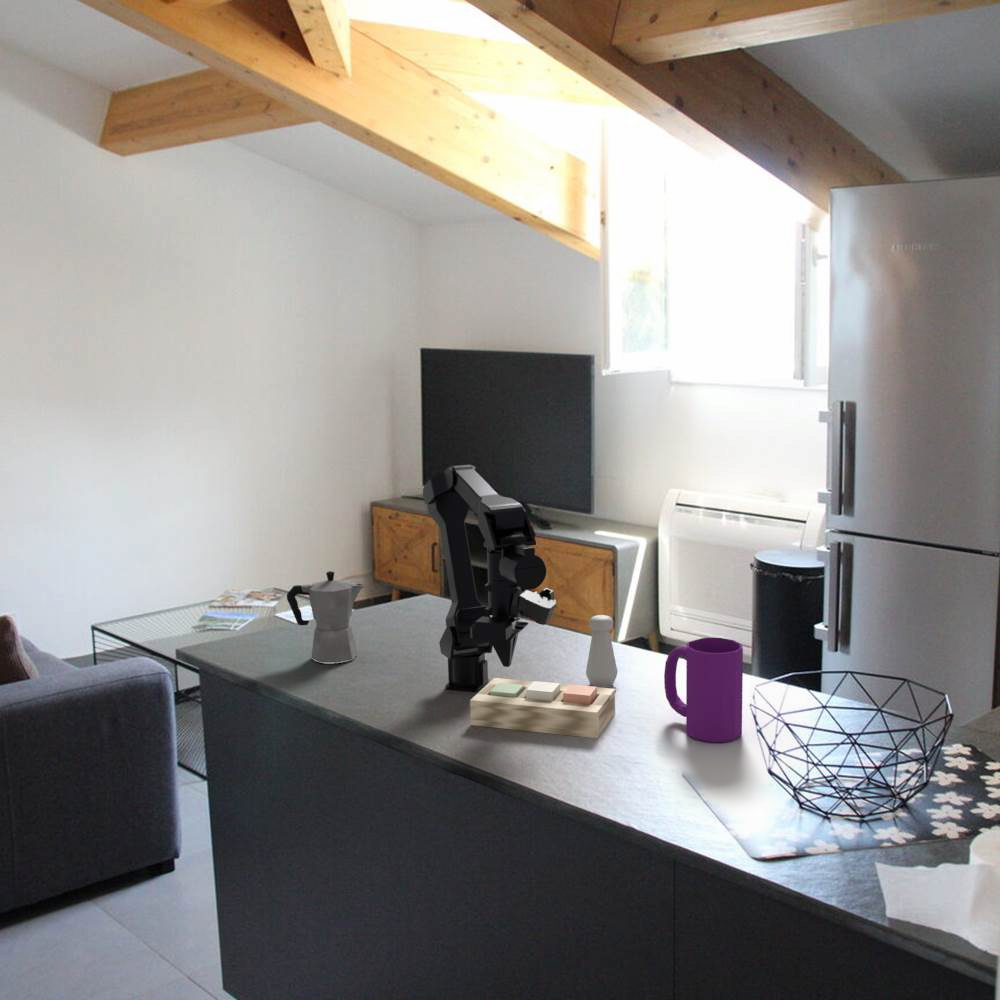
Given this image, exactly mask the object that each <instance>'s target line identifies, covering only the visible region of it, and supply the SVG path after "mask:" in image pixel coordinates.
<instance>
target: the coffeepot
mask: <svg viewBox="0 0 1000 1000" xmlns="http://www.w3.org/2000/svg"><path fill="white" fill-rule="evenodd" d="M325 574H326V577H327V580H322V581H318V582H314V583H312V584H302V585H299V584H297V585H293V586H292V587H291V588H290V589H289V591H288V592H287V594H286V600H287V602H288V604H289V607H290V609H291V611H292V613H293V615H294V616H293V617H294V618H295V621H296V623H297V625H298V626H308V624H309V622H310V621H309V620H305V619H303V618H302V612H301V611H302V610H301V609H300V608H299V604H298V600H297V598H296V597H297V596H298V595H302V596H308V598H309V603H310V607H311V612H312V617H313V619H314V620H315V628H314V631H313V632H314V633H313V640H312V650H311V656H310V657H311V658H313V659H315V660H317V661H319V662H341V661H345V660H346V661H347V660H351V659H353V658H354V657H355V656H356V655H357V656H358V651H357V646H356V642H355V638H354V634H353V628H352V626H351V625H350V624H351V623H350V618H351V617H353V616H352V615H353V606H354V603H355V601H356V599H357V598H358V595H359V593H360V592H361V591H362V589H364V588H365V586H364V584H362V583H358V582H350V581H347V580H340V579H334V578H335V571H330V570H329V571H326V573H325ZM357 656H356V657H357Z"/></svg>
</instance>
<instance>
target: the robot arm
mask: <svg viewBox="0 0 1000 1000" xmlns="http://www.w3.org/2000/svg"><path fill="white" fill-rule="evenodd" d="M422 498H423V501H424V504H426V507H427V512H428V514H429V516H430V518H431V519H432V521H434V522H435V523H436V525H437V526H438V527H439V532H440V538H441V544H442V550H443V556H444V563H445V568H446V576H447V581H448V587H449V594H450V601H451V604H450V607H449V610H448V612H447V615H446V617H445V626H446V627H445V629H444V631H443V633H442V636H441V638H440V640H439V642H438V643H439V648H440V654H441V655H443V656H445V657H446V658H447V671H448V672H447V673H448V675H447V677H448V683H446V684H445V685H444V688H445V689H449V690H458V691H470V692H479V691H480V690H482V689H483V688H484V687H485V686H486V685H487V684H488V683H489V682H490V681H489V680H490V679H489V669H488V668H489V667H488V660H487V659H486V654H492V652H493V649H494V651H495V653H496V655H497V657H498V658H499V660H500V662H501V665H502V666H503V667H505V668H509V667H510V666H512V662H513V657H514V654H515V649H516V645H517V640H518V636H519V634H520V633H522V631H523V630H524V629H525V628H526V627H527V626H528V625H529V622H527V621H521V618H520V616H523V617H525V618H527V619H530V620H532V621H534V622H535V623H536V624H538V625H541V626H542V625H543V626H544V625H546V624H547V623H548V622H549V621H551V620H552V617H553V614H554V612H555V611H554V610H555V609H556V608H557V607H558V606H557V600H556V599H555V594H554V589H550V588H548V587H545V588H543V590H541V591H540V592H539V593H538V591H534V592H533V591H531V590H534V589H536V588H538V587H540V586H541V585H542V584H543V583H544V581H545V579H546V577H547V576H546V575H547V566H546V563H545V562H544V560H543V559H542V558H541V557H540V556H539V555H536V552H535V551H536V549H535V547H534V546H537V541H536V538H535V537H536V532H535V529H534V528H533V525H532V522H531V521H530V518H529V515H528V513H527V511H526V509H525V508H524V507H523V505H522V504H521V503H520V502H518V501H517V500H515V499H513V498H512V497H507V496H503V495H499V493H497V492H496V491H495V490H494V488H493V487H492V486H491V485H489V483H488V482H487V481H486V480H485V479H484V478H483V477H482V476H481V475H480V474H479V473H478V471H477V468H476V466H475V465H472V464H463V465H462V464H461V465H450V467H447V468H446V469H445V471H443V472H441V473H439V474H437V475H435V476H433V477H431V478H430V479H428V481H427V482H426V483H425V485H424V486H423V489H422ZM470 509H471V510H473V511H474V513H476V515H477V516H478V518H477V519H478V520H477V527H478V529H479V530H480V533H481V534H482V537H483V539H484V542H483V547H485V548H486V561H487V562H486V563H487V564H486V565H487V583H486V584H484V585H483V591H484V592H487V596H488V597H487V598H488V606H487V605H483V604H482V603H481V601H480V600H479V599H478V595H477V590H476V582H475V576H474V571H473V570H474V569H473V565H472V559H471V553H470V552H471V551H470V548H469V547H470V546H469V541H468V535H467V528H466V519H467V516H468V515H469V512H470Z"/></svg>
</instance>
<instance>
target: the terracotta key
mask: <svg viewBox="0 0 1000 1000" xmlns="http://www.w3.org/2000/svg"><path fill="white" fill-rule="evenodd" d="M569 685H570V686H569V687H568V688H567V689H566V690H565V692H564V693H563V702H568V703H579V704H589V705H592V704H593V702H594V701H595V700H596V699H597V687H594V686H592V685H580V684H569Z"/></svg>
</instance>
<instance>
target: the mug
mask: <svg viewBox="0 0 1000 1000" xmlns="http://www.w3.org/2000/svg"><path fill="white" fill-rule="evenodd" d="M681 656H682V657H683V659H684V660H685V661H686V666H685V667H686V672H685V673H686V674H685V676H686V680H685V681H686V689H685V691H686V698H685V701H686V703H685V702H683V700H682V699H681V697H680V696H679V694H678V690H677V670H678V669H677V666H678V662H679V658H680V657H681ZM743 658H744V649H743V644H742V643H740V642H738V641H736V640H734V639H728V638H723V637H701V638H698V639H694V640H690V641H688V642H686V646H683V645H682V646H681V645H680V646H679V645H678V646H676V647H675V648H673V649H672V650H671V651H670V653H669V654H667V657H666V661H665V667H664V677H663V680H664V683H663V684H664V693H665V697H666V700H667V701H668V704H669V705H670V707H671V709H672V710H673V711H674V712H676V714H679V715H680V716H682V717H685V720H686V722H685V723H686V725H685V726H686V729H685V730H686V731H685V732H686V734H687V735H688V736H689V737H691V738H693V739H694V740H696V741H700V742H705V743H715V744H717V743H719V744H722V743H729V742H733V741H735V740H736V739H738V738H740V737H741V736H742V734H743V678H744V677H743V676H744V675H743V672H744V670H743V668H744V667H743V666H744V663H743V662H744V659H743ZM732 740H733V741H732ZM728 741H729V742H728Z"/></svg>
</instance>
